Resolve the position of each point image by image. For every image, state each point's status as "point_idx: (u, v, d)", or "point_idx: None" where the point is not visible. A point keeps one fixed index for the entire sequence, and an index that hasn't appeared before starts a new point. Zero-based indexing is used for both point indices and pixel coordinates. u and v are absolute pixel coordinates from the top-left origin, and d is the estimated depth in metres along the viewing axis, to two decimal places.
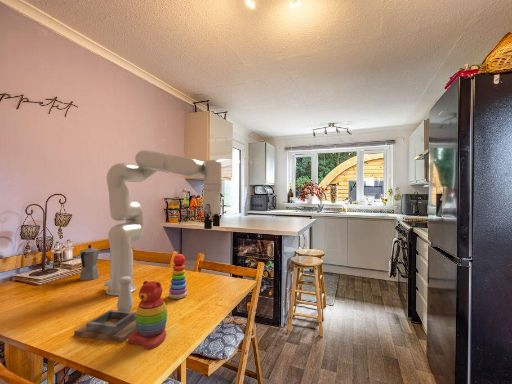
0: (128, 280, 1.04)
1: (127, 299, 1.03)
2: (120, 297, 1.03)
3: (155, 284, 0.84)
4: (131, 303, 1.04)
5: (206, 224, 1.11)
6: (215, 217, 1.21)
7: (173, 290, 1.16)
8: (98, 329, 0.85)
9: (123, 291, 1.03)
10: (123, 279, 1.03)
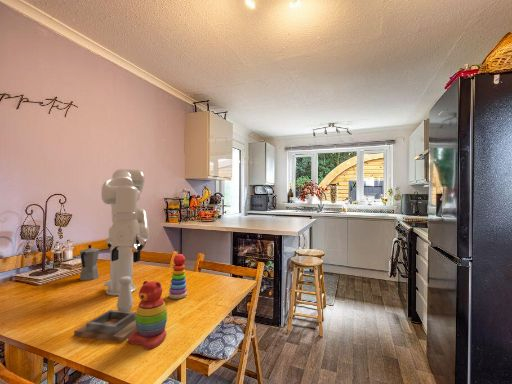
0: (128, 280, 1.04)
1: (127, 299, 1.03)
2: (120, 297, 1.03)
3: (155, 284, 0.84)
4: (131, 303, 1.04)
5: (138, 256, 1.03)
6: (115, 250, 1.05)
7: (173, 290, 1.16)
8: (98, 329, 0.85)
9: (123, 291, 1.03)
10: (123, 279, 1.03)
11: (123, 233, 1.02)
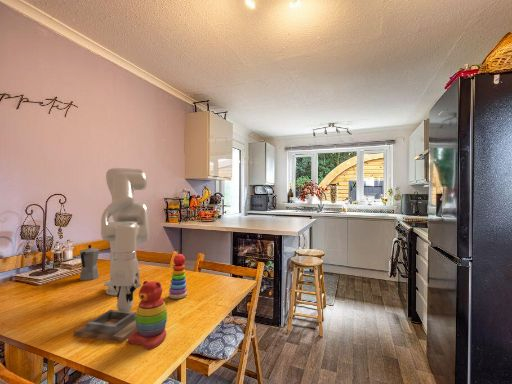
0: None
1: None
2: (120, 297, 1.03)
3: (155, 284, 0.84)
4: (131, 303, 1.04)
5: (131, 298, 1.04)
6: None
7: (173, 290, 1.16)
8: (98, 329, 0.85)
9: (123, 291, 1.03)
10: None
11: (122, 273, 1.02)
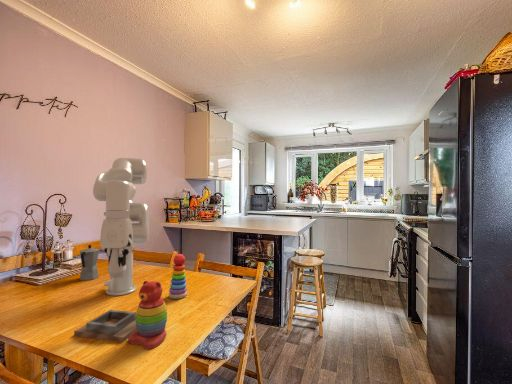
0: None
1: None
2: (111, 260, 0.92)
3: (155, 284, 0.84)
4: (124, 268, 0.94)
5: (123, 262, 0.93)
6: None
7: (173, 290, 1.16)
8: (98, 329, 0.85)
9: (115, 254, 0.92)
10: None
11: (114, 233, 0.91)
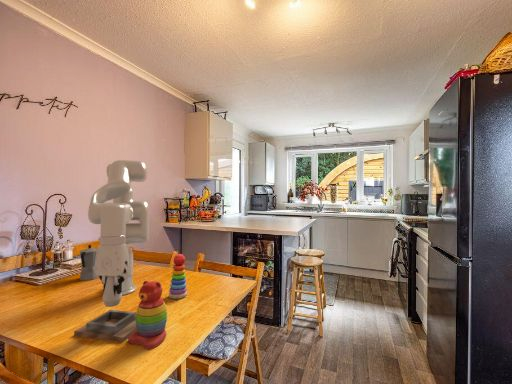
0: None
1: None
2: (106, 289, 0.88)
3: (155, 284, 0.84)
4: (119, 296, 0.89)
5: (119, 290, 0.89)
6: None
7: (173, 290, 1.16)
8: (98, 329, 0.85)
9: (110, 282, 0.88)
10: None
11: (109, 260, 0.87)
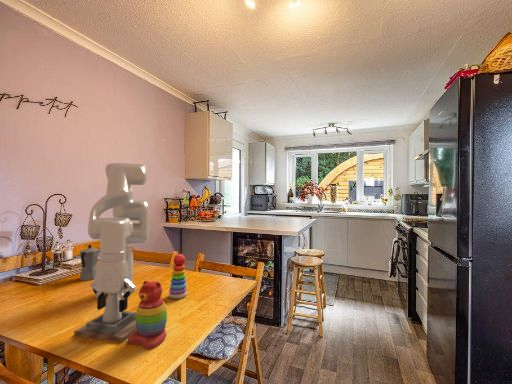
0: None
1: (115, 312, 0.88)
2: (106, 309, 0.88)
3: (155, 284, 0.84)
4: (119, 316, 0.89)
5: (125, 305, 0.88)
6: (102, 296, 0.90)
7: (173, 290, 1.16)
8: (98, 329, 0.85)
9: (110, 303, 0.88)
10: None
11: (109, 277, 0.87)
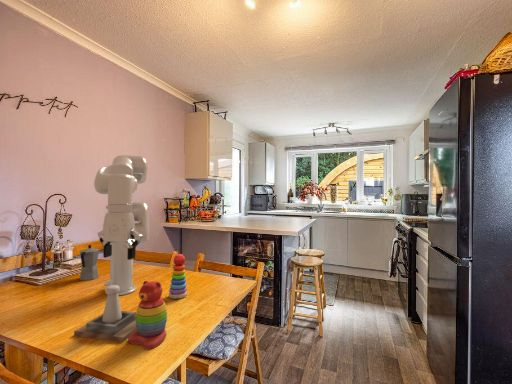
0: (116, 289, 0.89)
1: (115, 312, 0.88)
2: (106, 310, 0.88)
3: (155, 284, 0.84)
4: (119, 316, 0.89)
5: (133, 253, 0.92)
6: (107, 245, 0.94)
7: (173, 290, 1.16)
8: (98, 329, 0.85)
9: (110, 303, 0.88)
10: (110, 289, 0.88)
11: (116, 227, 0.91)
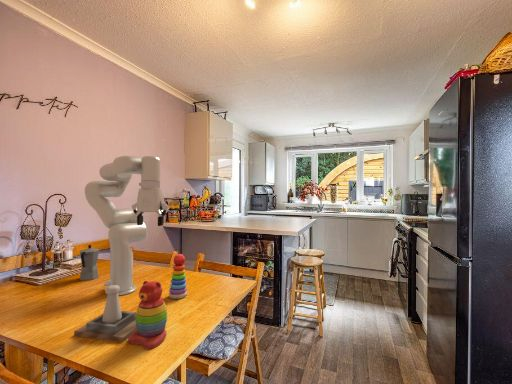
0: (116, 289, 0.89)
1: (115, 312, 0.88)
2: (106, 310, 0.88)
3: (155, 284, 0.84)
4: (119, 316, 0.89)
5: (162, 221, 1.12)
6: (140, 215, 1.15)
7: (173, 290, 1.16)
8: (98, 329, 0.85)
9: (110, 303, 0.88)
10: (109, 289, 0.88)
11: (148, 199, 1.11)
